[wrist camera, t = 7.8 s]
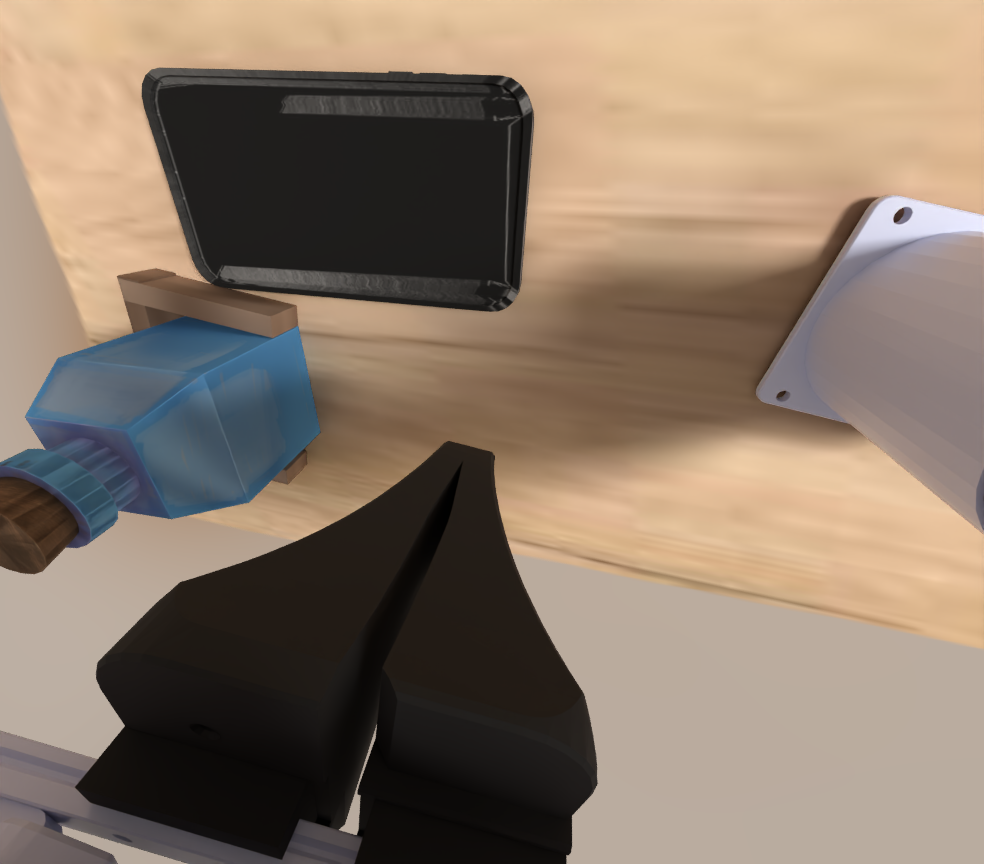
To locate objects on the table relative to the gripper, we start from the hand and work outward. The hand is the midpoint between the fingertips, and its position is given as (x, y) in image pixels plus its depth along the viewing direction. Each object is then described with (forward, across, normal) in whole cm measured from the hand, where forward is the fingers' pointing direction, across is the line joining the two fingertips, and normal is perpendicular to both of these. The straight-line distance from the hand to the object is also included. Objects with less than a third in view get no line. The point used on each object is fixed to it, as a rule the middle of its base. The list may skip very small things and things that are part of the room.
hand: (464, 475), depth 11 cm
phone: (+10, +8, -5) cm, 14 cm away
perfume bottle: (+10, +13, +5) cm, 17 cm away
